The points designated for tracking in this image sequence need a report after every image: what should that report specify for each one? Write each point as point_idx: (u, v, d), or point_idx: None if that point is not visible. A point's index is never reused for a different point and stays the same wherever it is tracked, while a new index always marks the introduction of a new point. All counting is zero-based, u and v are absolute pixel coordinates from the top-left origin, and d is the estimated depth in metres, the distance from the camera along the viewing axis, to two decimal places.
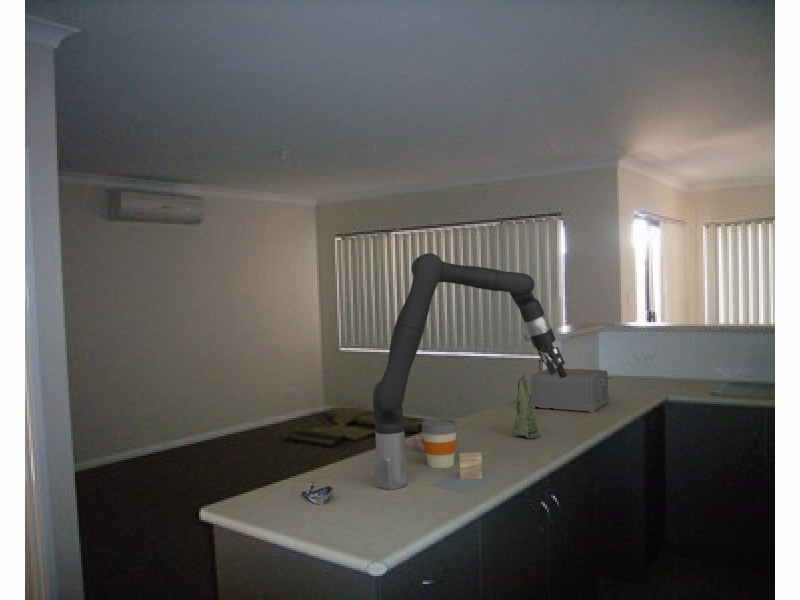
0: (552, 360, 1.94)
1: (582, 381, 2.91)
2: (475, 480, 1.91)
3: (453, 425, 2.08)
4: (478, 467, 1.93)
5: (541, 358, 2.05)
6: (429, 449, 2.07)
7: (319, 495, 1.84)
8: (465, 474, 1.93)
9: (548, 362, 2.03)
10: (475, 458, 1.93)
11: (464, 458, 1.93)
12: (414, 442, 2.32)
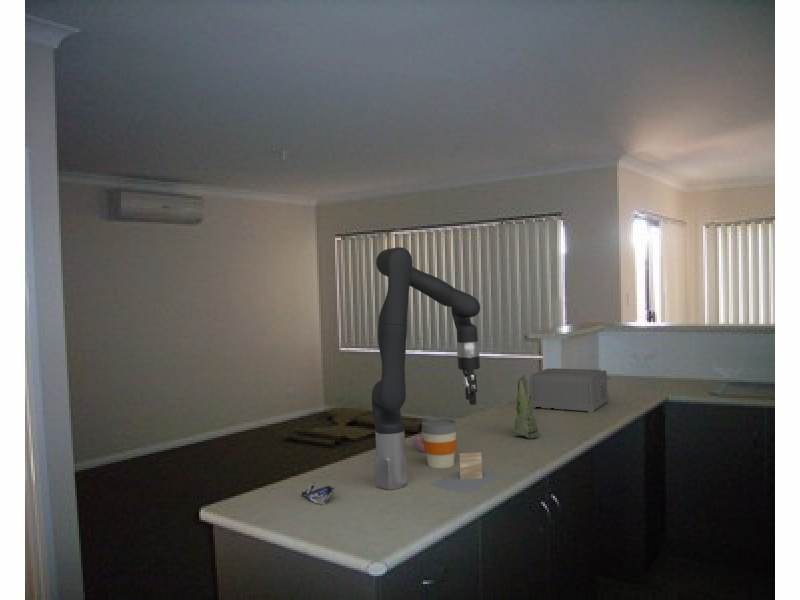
0: (468, 385, 2.03)
1: (581, 381, 2.91)
2: (475, 480, 1.91)
3: (453, 425, 2.08)
4: (478, 467, 1.93)
5: None
6: (429, 449, 2.07)
7: (319, 495, 1.84)
8: (465, 474, 1.93)
9: None
10: (475, 458, 1.93)
11: (464, 458, 1.93)
12: (415, 442, 2.32)
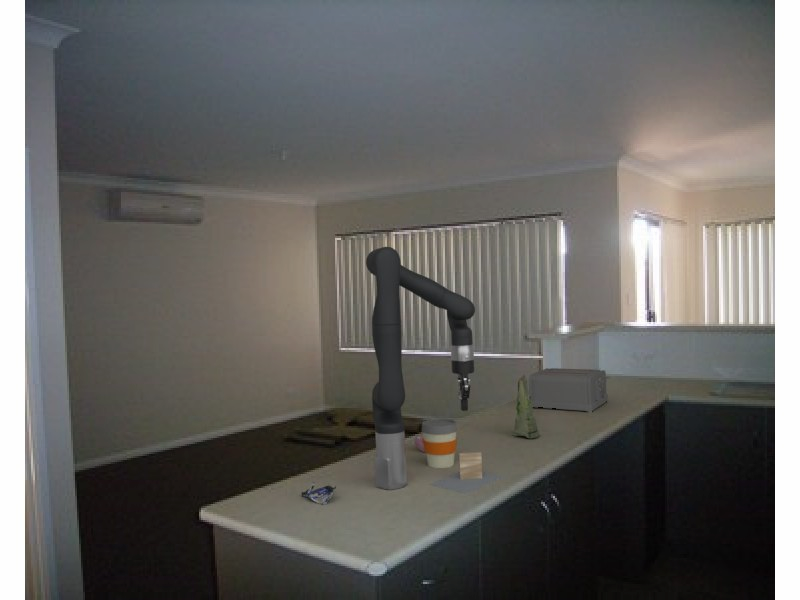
0: (460, 392, 2.00)
1: (580, 381, 2.92)
2: (475, 480, 1.91)
3: (453, 425, 2.08)
4: (478, 467, 1.93)
5: (458, 391, 2.04)
6: (429, 449, 2.07)
7: (319, 495, 1.84)
8: (465, 474, 1.93)
9: None
10: (475, 458, 1.93)
11: (464, 458, 1.93)
12: (415, 442, 2.32)
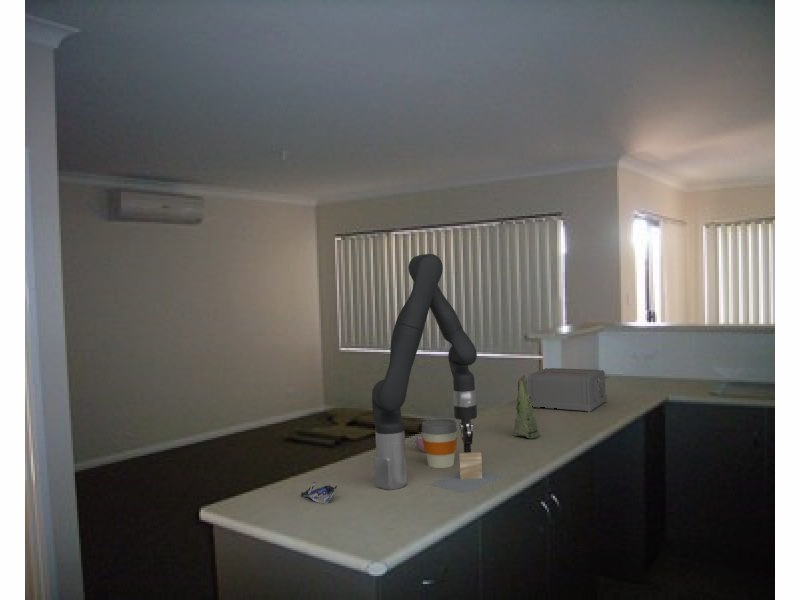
0: (463, 437, 1.99)
1: (579, 381, 2.93)
2: (475, 480, 1.91)
3: (453, 425, 2.08)
4: (478, 467, 1.93)
5: None
6: (429, 449, 2.07)
7: (319, 495, 1.84)
8: (465, 474, 1.93)
9: None
10: (475, 458, 1.93)
11: (464, 458, 1.93)
12: (416, 442, 2.31)
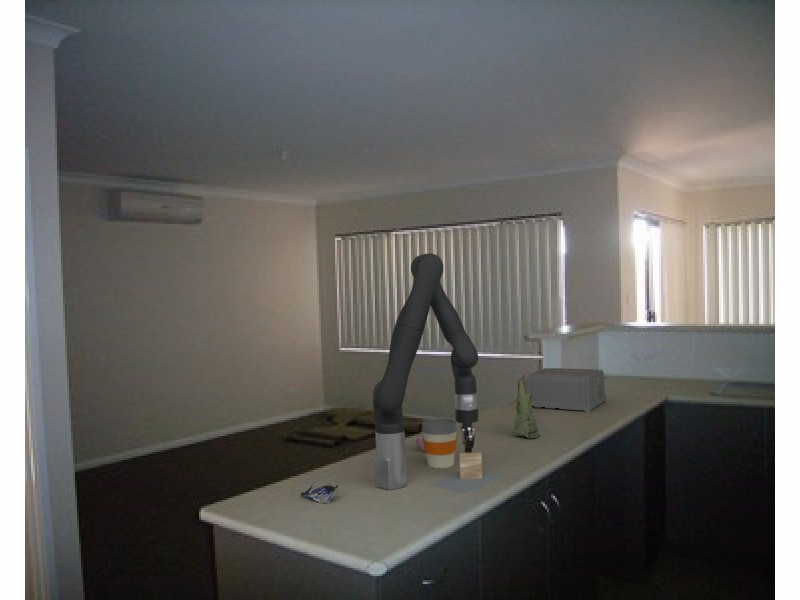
0: (465, 441, 1.95)
1: (578, 381, 2.93)
2: (475, 480, 1.91)
3: (453, 425, 2.08)
4: (478, 467, 1.93)
5: (462, 439, 2.00)
6: (429, 449, 2.07)
7: (319, 495, 1.84)
8: (465, 474, 1.93)
9: None
10: (475, 458, 1.93)
11: (464, 458, 1.93)
12: (417, 442, 2.31)
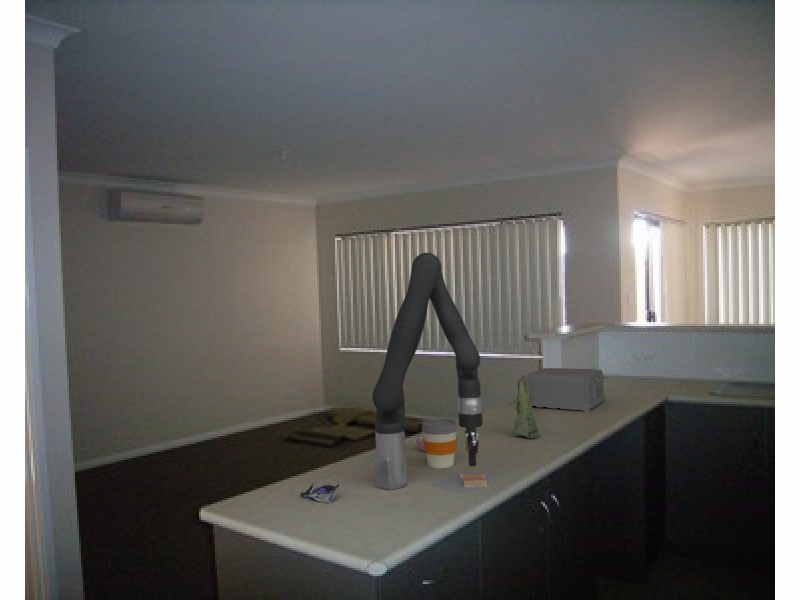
0: (468, 446, 1.88)
1: (577, 380, 2.94)
2: None
3: (453, 425, 2.08)
4: None
5: None
6: (429, 449, 2.07)
7: (319, 494, 1.85)
8: None
9: None
10: None
11: None
12: (418, 442, 2.31)
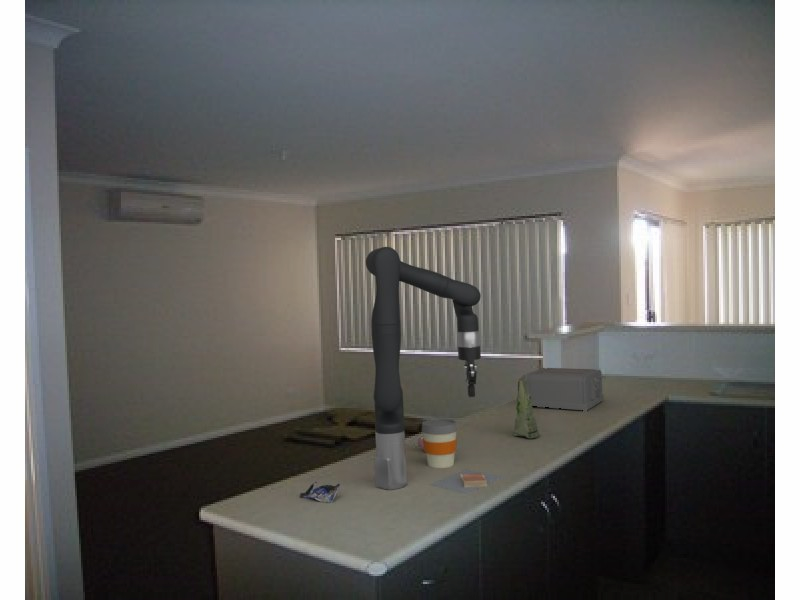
0: (467, 378, 2.00)
1: (575, 380, 2.94)
2: None
3: (453, 425, 2.08)
4: None
5: None
6: (429, 449, 2.07)
7: (318, 495, 1.85)
8: None
9: None
10: None
11: None
12: (419, 443, 2.31)
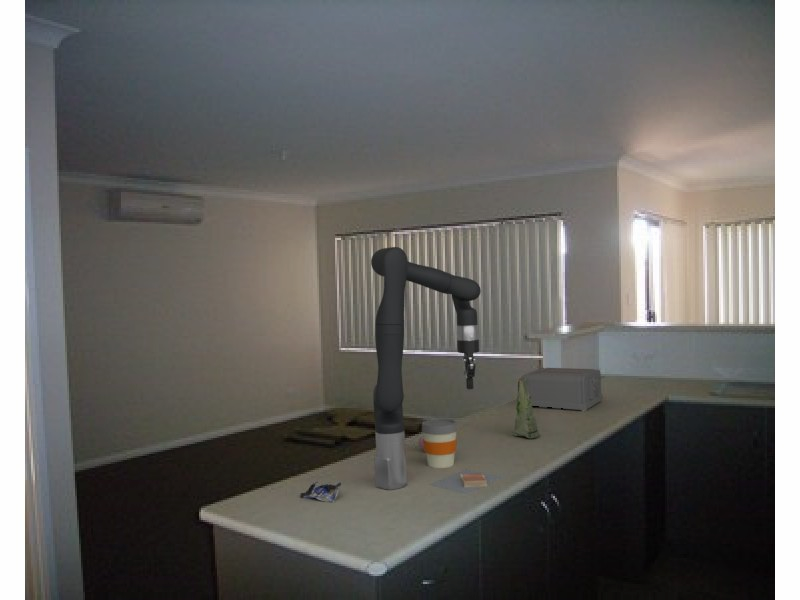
0: (466, 371, 2.05)
1: (574, 380, 2.95)
2: None
3: (453, 425, 2.08)
4: None
5: (464, 370, 2.10)
6: (429, 449, 2.07)
7: (318, 494, 1.85)
8: None
9: None
10: None
11: None
12: (420, 443, 2.31)
